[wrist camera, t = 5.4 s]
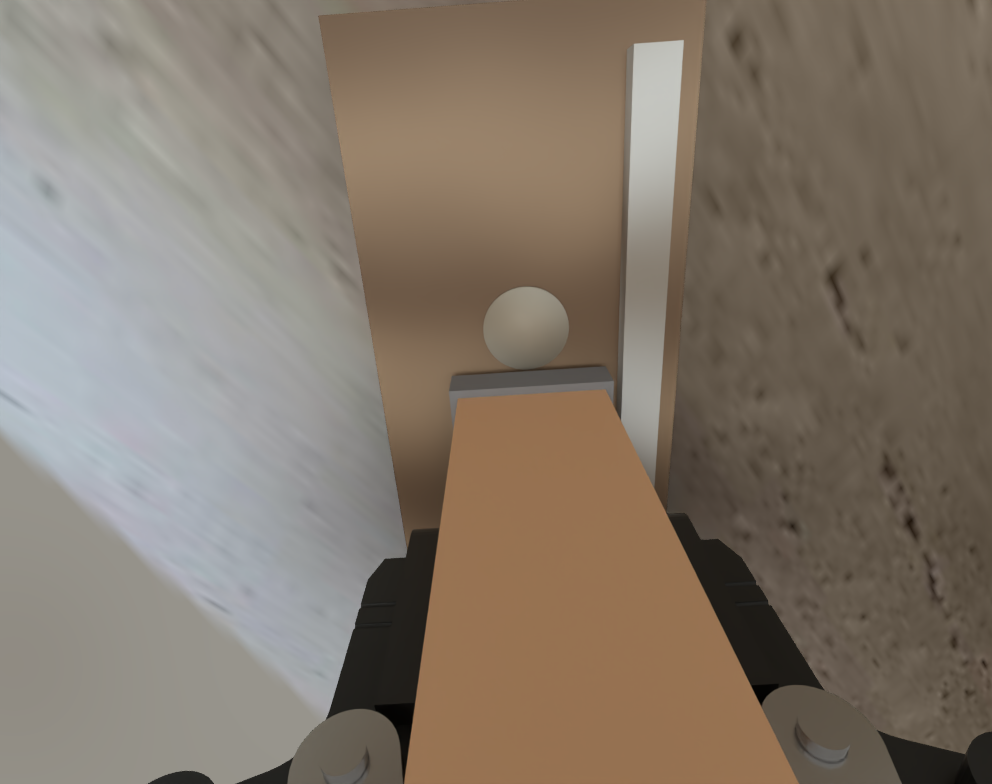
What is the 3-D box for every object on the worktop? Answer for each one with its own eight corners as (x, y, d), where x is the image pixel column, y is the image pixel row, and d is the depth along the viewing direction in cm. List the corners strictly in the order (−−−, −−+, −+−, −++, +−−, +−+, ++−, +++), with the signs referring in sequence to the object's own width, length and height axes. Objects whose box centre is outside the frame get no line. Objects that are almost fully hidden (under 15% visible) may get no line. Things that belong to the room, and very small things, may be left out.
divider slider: (451, 375, 14) (373, 802, 5) (605, 366, 14) (832, 781, 5) (465, 503, 15) (426, 1006, 6) (603, 495, 15) (766, 991, 6)
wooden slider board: (337, 31, 12) (194, -85, 6) (683, 5, 12) (864, -139, 6) (444, 718, 22) (427, 925, 16) (638, 708, 22) (693, 914, 16)
